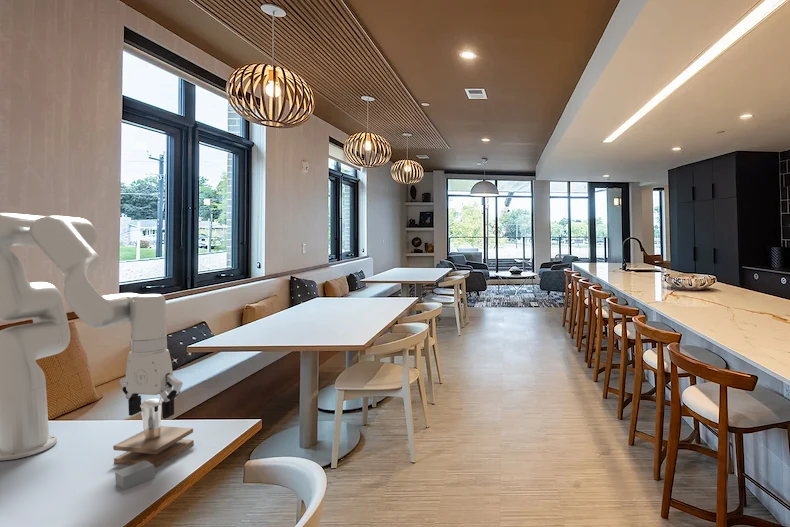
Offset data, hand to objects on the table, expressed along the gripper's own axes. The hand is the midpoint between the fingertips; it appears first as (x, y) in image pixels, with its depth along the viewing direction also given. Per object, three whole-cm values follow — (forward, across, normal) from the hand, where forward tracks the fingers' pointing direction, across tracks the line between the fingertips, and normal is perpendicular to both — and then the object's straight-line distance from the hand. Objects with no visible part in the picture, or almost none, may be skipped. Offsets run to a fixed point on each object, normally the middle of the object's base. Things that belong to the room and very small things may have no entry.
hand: (151, 415), depth 105 cm
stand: (+9, +1, 0) cm, 9 cm away
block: (+10, +7, -12) cm, 17 cm away
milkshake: (+6, +1, 0) cm, 6 cm away
